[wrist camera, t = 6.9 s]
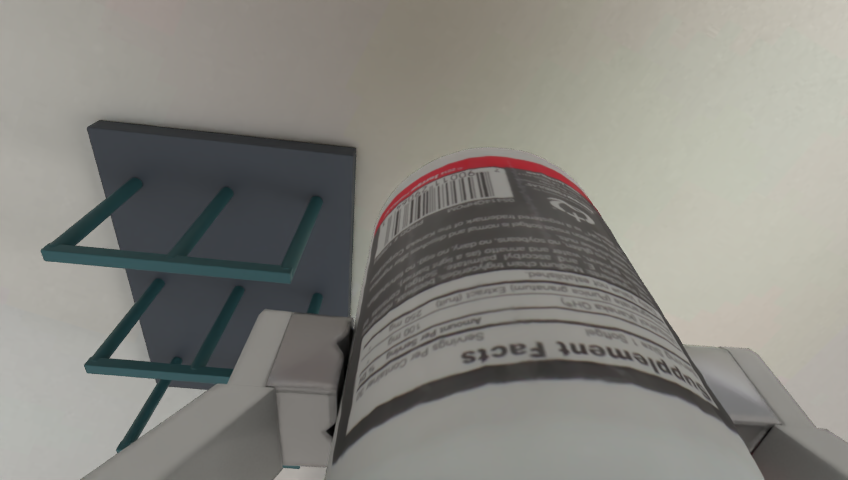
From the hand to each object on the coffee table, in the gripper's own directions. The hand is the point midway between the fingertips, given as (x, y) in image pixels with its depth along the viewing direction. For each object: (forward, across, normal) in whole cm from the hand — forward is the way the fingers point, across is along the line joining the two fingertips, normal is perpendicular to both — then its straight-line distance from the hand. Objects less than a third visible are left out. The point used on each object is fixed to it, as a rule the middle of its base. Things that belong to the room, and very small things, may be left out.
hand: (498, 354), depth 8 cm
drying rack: (+19, +12, +14) cm, 27 cm away
